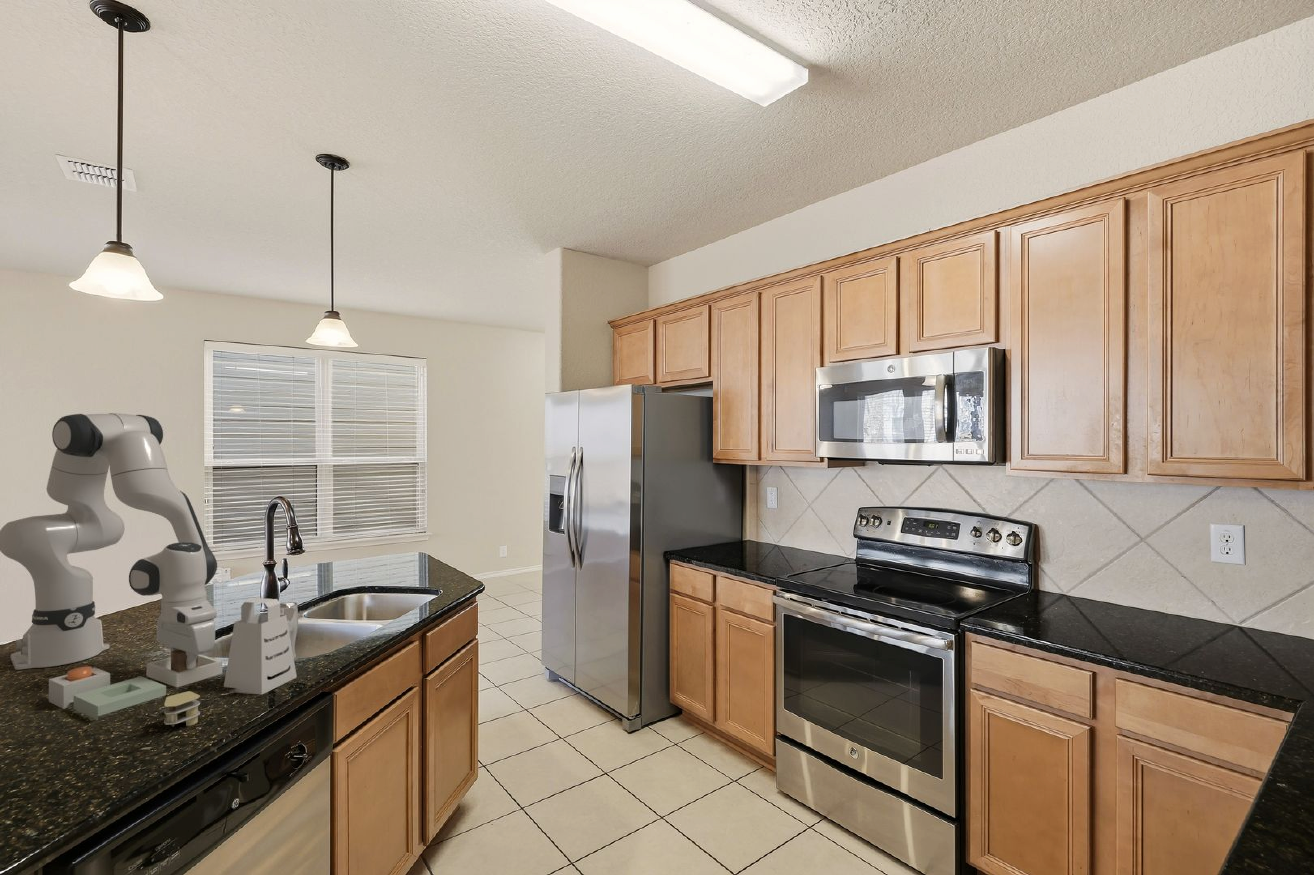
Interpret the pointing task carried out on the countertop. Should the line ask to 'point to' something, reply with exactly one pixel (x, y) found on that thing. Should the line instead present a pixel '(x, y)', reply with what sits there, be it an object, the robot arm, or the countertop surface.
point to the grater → (259, 650)
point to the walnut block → (179, 661)
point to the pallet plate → (117, 696)
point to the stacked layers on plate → (182, 708)
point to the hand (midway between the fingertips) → (184, 666)
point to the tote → (166, 675)
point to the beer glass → (290, 622)
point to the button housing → (75, 687)
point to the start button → (79, 673)
